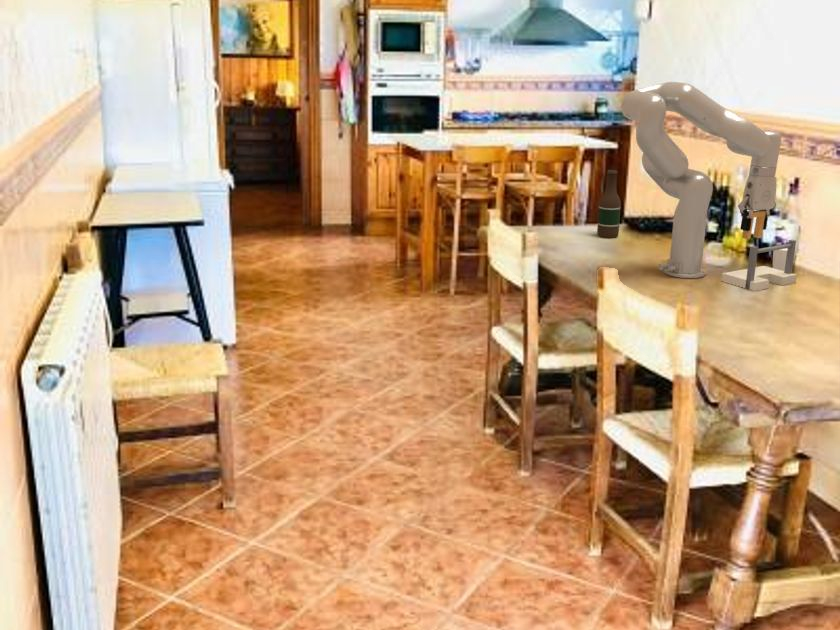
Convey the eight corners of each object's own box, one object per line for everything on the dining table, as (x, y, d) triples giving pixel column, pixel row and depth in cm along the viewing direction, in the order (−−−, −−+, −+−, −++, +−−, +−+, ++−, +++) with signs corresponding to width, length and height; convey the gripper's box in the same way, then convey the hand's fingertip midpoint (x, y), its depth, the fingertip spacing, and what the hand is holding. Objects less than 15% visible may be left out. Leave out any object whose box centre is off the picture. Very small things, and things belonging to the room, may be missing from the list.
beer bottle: (620, 238, 318) (625, 172, 311) (598, 238, 319) (603, 172, 311) (616, 234, 326) (621, 168, 318) (595, 234, 326) (599, 168, 319)
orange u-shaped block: (761, 237, 277) (766, 211, 275) (747, 239, 274) (751, 212, 271) (756, 236, 279) (760, 210, 276) (741, 237, 275) (746, 211, 273)
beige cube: (795, 273, 274) (798, 251, 272) (772, 272, 275) (775, 250, 273) (791, 267, 281) (794, 246, 278) (768, 266, 282) (771, 245, 280)
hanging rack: (754, 291, 255) (759, 248, 251) (721, 281, 265) (726, 240, 261) (795, 282, 264) (801, 241, 260) (762, 273, 274) (767, 233, 270)
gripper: (753, 174, 263) (743, 233, 268) (791, 173, 271) (781, 230, 277) (733, 170, 269) (724, 228, 274) (771, 169, 277) (762, 225, 283)
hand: (753, 229), depth 275 cm, fingers closed on orange u-shaped block, 6 cm apart
